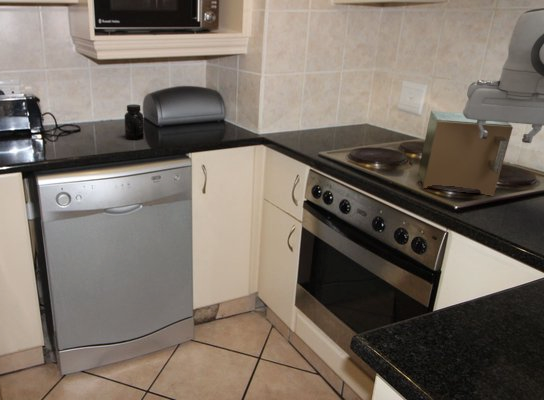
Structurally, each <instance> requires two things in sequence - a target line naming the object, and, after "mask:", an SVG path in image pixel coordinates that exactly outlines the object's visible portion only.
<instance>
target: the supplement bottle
mask: <svg viewBox="0 0 544 400" xmlns="http://www.w3.org/2000/svg"><path fill="white" fill-rule="evenodd" d="M141 111H142V110H141V105H140V104H127V105H126V112H125V114H124V117H123V118H124V137H125V139H126V140H129V141H140V140H143V139H144V136H145V135H144V134H145V132H144V129H145V128H144V127H145V126H144V124H145V123H144V114H143V113H142V112H141Z"/></svg>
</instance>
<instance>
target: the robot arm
mask: <svg viewBox="0 0 544 400" xmlns="http://www.w3.org/2000/svg"><path fill="white" fill-rule="evenodd" d="M466 94H467V99H466V101H465V104H464V105H463V106H464V107H463V110H462V113H463V115H464V116H465V117H466V118H467V119H472V120H477V125H478V128H479V130H480V132H479V135H478V137H479V138H481V139H486V138H487V135H488V132H487V131H485V130H484V129H483V126H482V125H485V123H486V121H496V122H508V123H509V124H520V125H521V124H522V125H531V128H532V129H530V131H529V132H528V133H523V135H522V139H521V142H522V143H525V144H531V143H532V142H533V138H534V137H535V136H536V135H537V134H538V133H540V132H541V131H542V128H543V126H544V7H542V8H541V7H540V8H533V9H530V10H527V11H525V12H523V13H522V14H521V15H520V16H519V17H518V19H517V21H516V22H515V25H514V27H513V30H512V33H511V35H510V39H509V42H508V46H507V56H506V59H505V61H504V63H503V65H502V67H501V71H500V74H499V77H498V80H484V79H479V80H476V81H474V82H472V83H470V85H469V86H468V89H467V92H466Z"/></svg>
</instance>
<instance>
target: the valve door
mask: <svg viewBox="0 0 544 400" xmlns="http://www.w3.org/2000/svg"><path fill="white" fill-rule="evenodd" d="M482 126H483V129H484V130H485V131H487V132H488V135H487V138H486V139H481V138H479V137H478V135H479V132H480V130H479V128H478V125H477V124H475V123H462V122H449V121H437V125H436V130H435V134H434V139H433V143H432V148H431V153H430V157H429V162H428V166H427V171H426V175H425V180H424V185H423V186H422V188H423V189H424V188H427V187H428V186H432V185H442V186H455V187H463V188H471V189H478V190H480V191H481V193H482V194H485V195H484V196H486V195H491V196H490V197H494V196H495V193H496V189H497V185H498V183H499V179H500V175H501V171H502V167H503V164H504V160H505V157H506V153H507V150H508V146H509V142H510V140H511V136H512V132H513V129H514V127H513V126H502V125H489V124H485V125H482Z"/></svg>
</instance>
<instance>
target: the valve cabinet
mask: <svg viewBox="0 0 544 400" xmlns="http://www.w3.org/2000/svg"><path fill="white" fill-rule="evenodd" d="M437 121H449V122H462V123H475V124H477V120H472V119H467V118H466V117H465V116H464V115H463V112H451V111H440V110H430V114H429V119H428V124H427V129H426V133H425V138H424V143H423V148H422V152H421V157H420V162H419V167H418V171H417V176H418V178H419V180H420V183H421V182H422V184H421V186H422V187H423V185H424V180H425V175H426V171H427V166H428V162H429V157H430V153H431V148H432V143H433V139H434V134H435V130H436V125H437ZM485 124H489V125H502V126H512V124H511V123H508V122H496V121H486V123H485ZM512 127H513V126H512Z"/></svg>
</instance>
